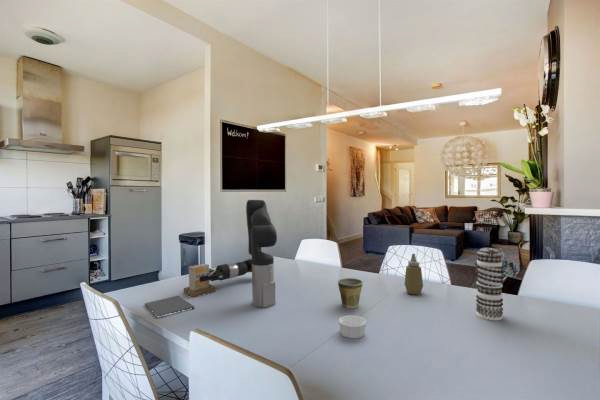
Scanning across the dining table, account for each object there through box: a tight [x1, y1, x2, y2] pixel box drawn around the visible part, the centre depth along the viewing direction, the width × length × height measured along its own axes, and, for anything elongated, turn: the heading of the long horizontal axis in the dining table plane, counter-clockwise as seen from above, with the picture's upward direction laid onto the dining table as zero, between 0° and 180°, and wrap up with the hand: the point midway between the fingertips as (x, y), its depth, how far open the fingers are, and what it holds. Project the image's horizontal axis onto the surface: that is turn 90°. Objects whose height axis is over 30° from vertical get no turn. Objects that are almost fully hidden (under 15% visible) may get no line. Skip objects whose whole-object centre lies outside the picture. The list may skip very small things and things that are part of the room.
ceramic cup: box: [337, 277, 363, 309], centre depth 127 cm, size 13×10×10 cm
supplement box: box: [188, 263, 210, 291], centre depth 145 cm, size 8×5×13 cm, turn 143°
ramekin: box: [338, 315, 367, 339], centre depth 101 cm, size 9×9×4 cm
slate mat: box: [144, 295, 195, 316], centre depth 127 cm, size 18×14×1 cm
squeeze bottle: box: [404, 253, 424, 295], centre depth 140 cm, size 8×8×18 cm
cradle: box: [183, 283, 216, 298], centre depth 145 cm, size 9×12×2 cm
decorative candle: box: [474, 247, 505, 321], centre depth 113 cm, size 9×9×25 cm
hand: (196, 277), depth 144 cm, fingers open, 8 cm apart
